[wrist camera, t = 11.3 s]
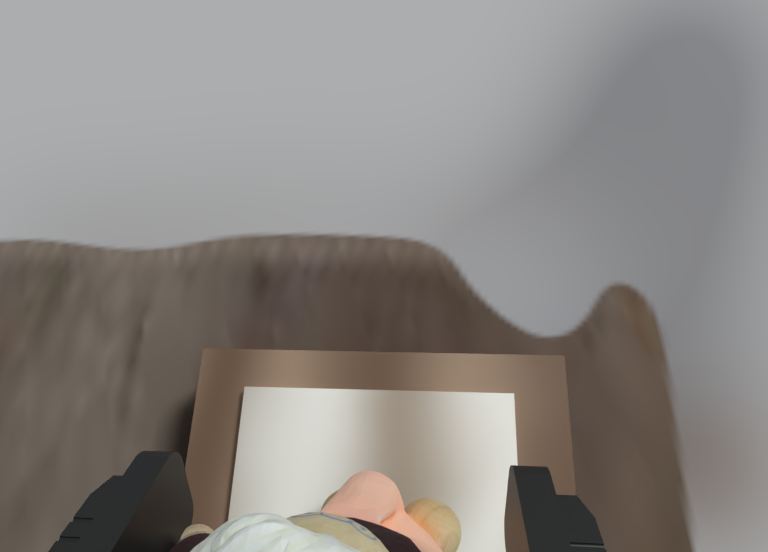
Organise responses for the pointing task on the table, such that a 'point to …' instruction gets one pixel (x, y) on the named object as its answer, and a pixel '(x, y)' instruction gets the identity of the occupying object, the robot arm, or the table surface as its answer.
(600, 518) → the table surface
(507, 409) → the stand
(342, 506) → the grandmother figurine
